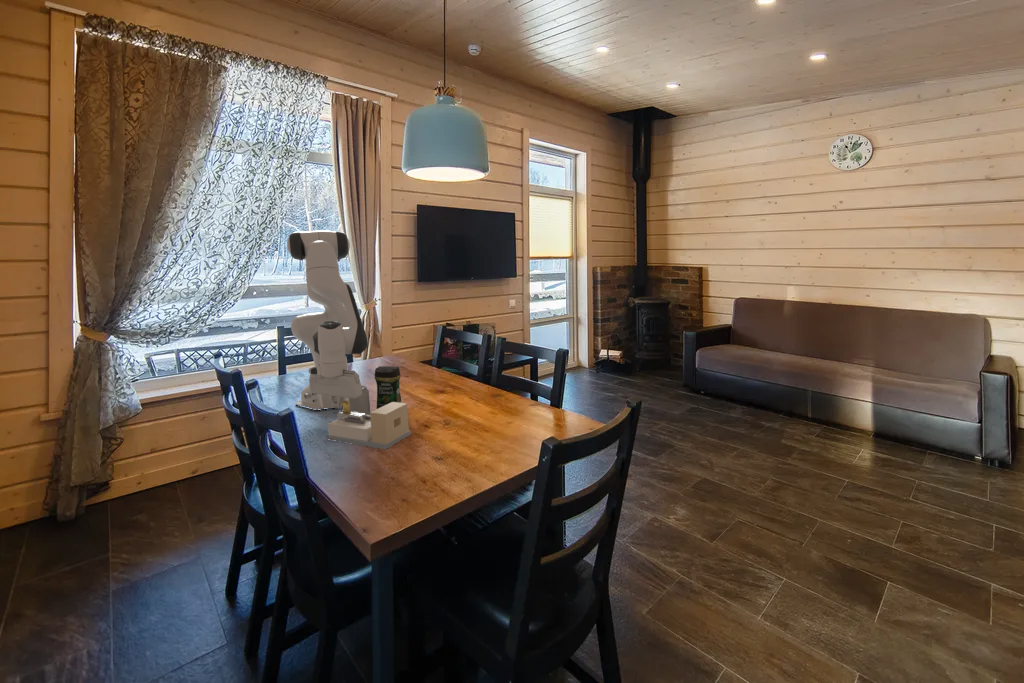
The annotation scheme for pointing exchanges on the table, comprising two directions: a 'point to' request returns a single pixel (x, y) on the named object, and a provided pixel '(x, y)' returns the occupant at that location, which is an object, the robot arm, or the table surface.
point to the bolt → (348, 414)
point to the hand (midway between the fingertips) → (337, 407)
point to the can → (361, 402)
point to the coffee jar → (387, 385)
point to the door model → (373, 427)
